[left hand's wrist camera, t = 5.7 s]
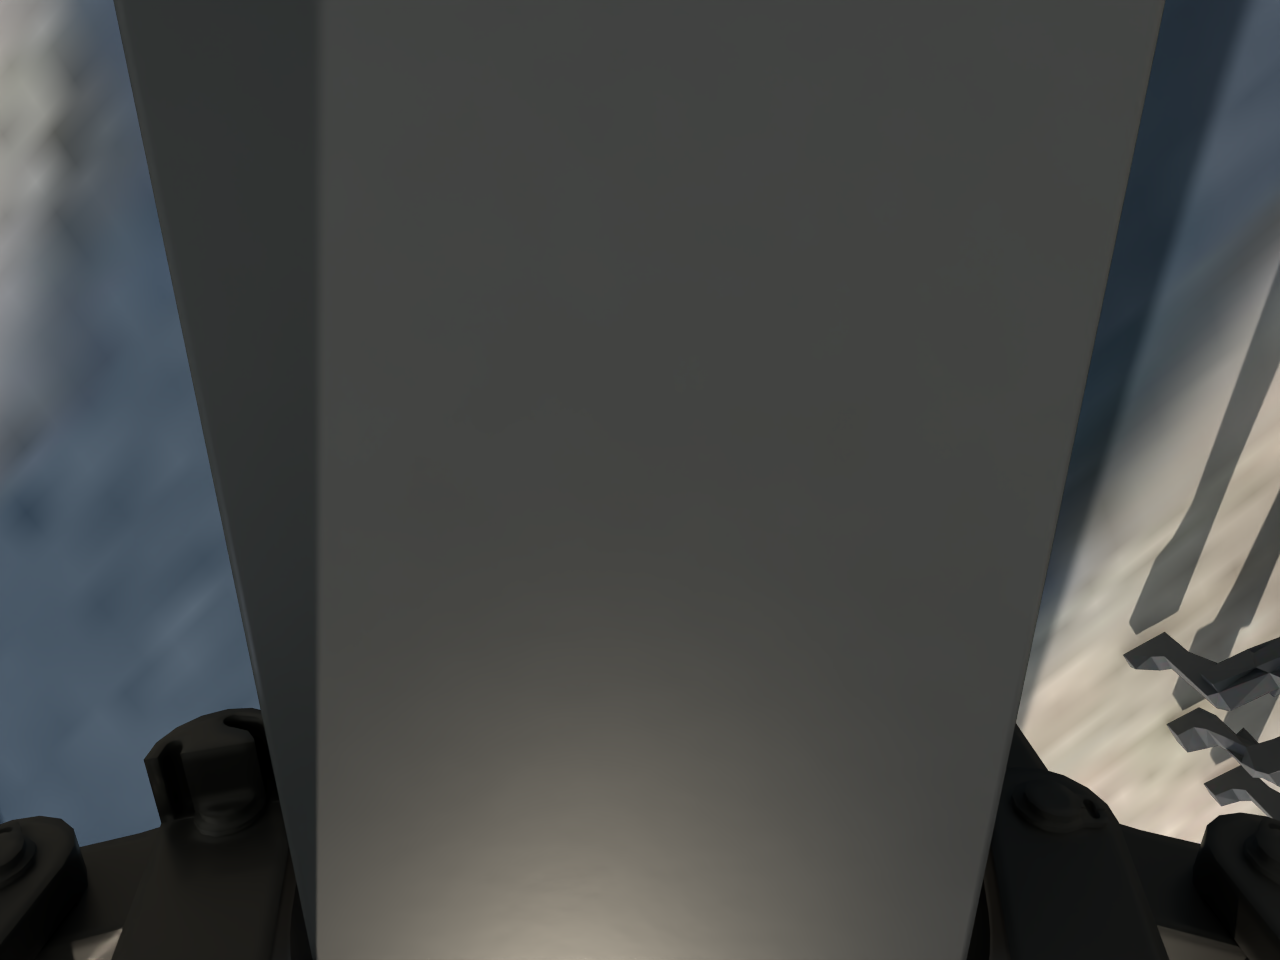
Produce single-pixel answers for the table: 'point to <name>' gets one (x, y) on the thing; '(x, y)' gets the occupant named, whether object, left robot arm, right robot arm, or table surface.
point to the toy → (1227, 688)
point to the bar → (639, 442)
